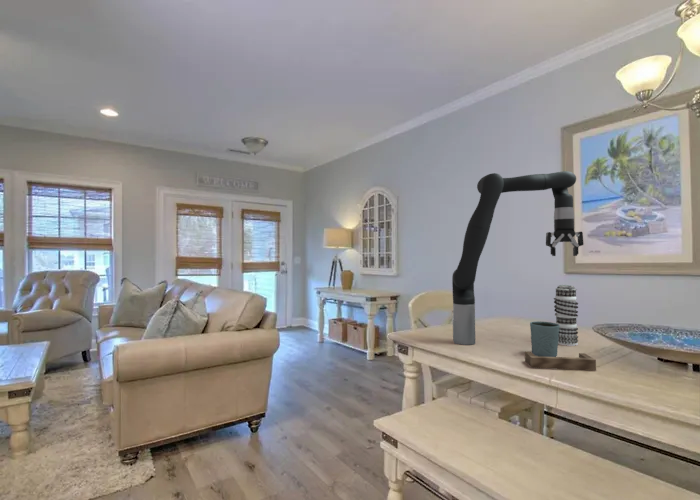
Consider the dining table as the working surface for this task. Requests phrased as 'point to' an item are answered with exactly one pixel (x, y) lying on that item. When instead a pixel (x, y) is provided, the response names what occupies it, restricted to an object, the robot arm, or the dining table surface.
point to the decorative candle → (566, 314)
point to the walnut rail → (561, 362)
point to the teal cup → (544, 338)
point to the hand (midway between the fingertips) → (564, 255)
